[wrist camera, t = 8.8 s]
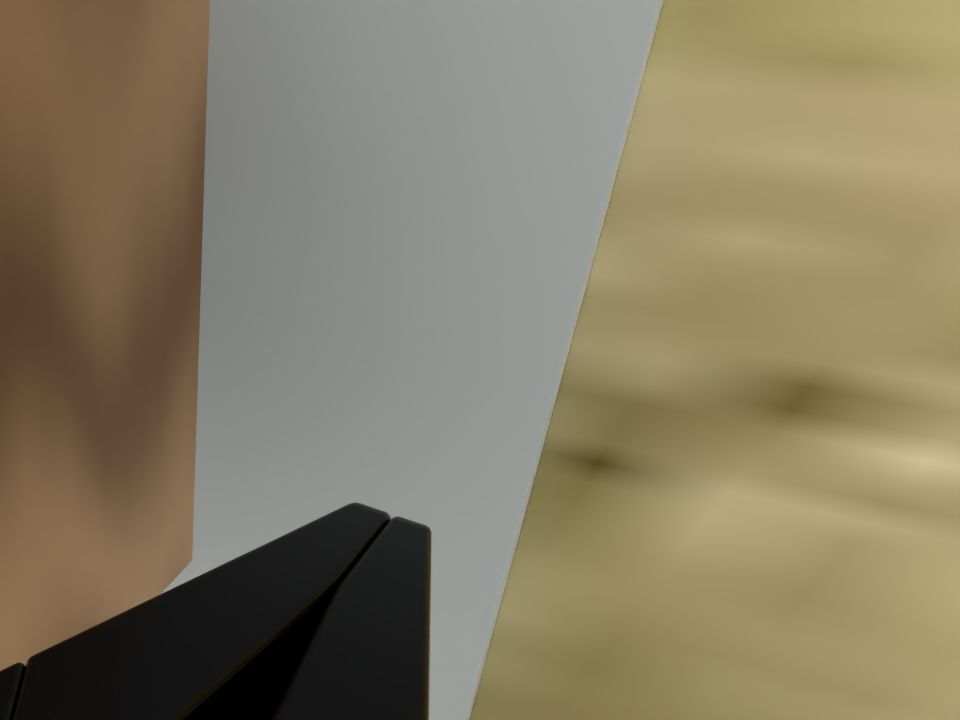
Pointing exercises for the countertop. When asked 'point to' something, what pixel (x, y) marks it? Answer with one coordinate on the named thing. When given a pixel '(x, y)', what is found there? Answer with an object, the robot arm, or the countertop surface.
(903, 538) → the countertop surface
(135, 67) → the frame
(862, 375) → the countertop surface
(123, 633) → the robot arm
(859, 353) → the countertop surface
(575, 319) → the board
